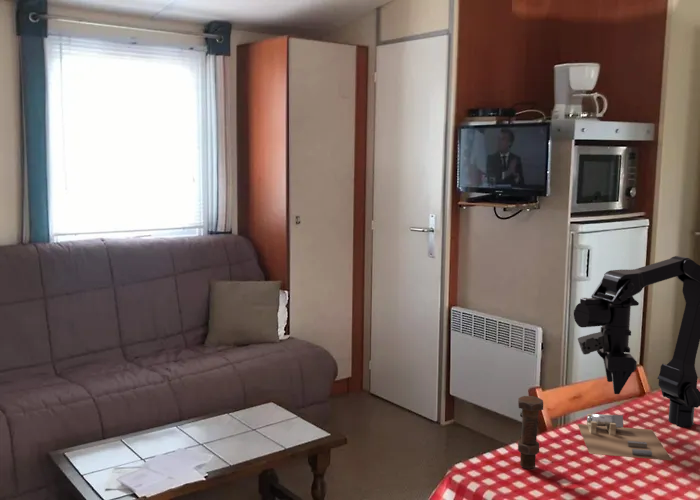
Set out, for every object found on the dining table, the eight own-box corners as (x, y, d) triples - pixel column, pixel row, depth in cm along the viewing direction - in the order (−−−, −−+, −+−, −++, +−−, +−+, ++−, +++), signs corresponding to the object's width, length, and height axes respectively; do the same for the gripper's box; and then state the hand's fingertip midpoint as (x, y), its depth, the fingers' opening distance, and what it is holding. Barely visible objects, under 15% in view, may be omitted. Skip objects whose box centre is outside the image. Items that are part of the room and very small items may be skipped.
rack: (586, 424, 174) (587, 413, 174) (610, 426, 173) (611, 415, 173) (590, 433, 168) (591, 422, 168) (615, 435, 167) (616, 424, 167)
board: (577, 427, 174) (577, 423, 174) (651, 432, 171) (651, 429, 171) (589, 456, 157) (589, 453, 157) (672, 463, 154) (672, 460, 154)
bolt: (540, 473, 148) (544, 405, 146) (515, 471, 149) (519, 403, 147) (538, 462, 154) (542, 396, 152) (515, 459, 155) (518, 394, 153)
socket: (627, 444, 162) (627, 440, 162) (645, 446, 161) (646, 442, 161) (632, 454, 156) (633, 450, 156) (651, 456, 156) (652, 452, 155)
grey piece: (620, 427, 171) (620, 416, 172) (623, 427, 168) (622, 415, 169) (586, 425, 172) (586, 413, 173) (588, 424, 170) (588, 412, 170)
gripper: (576, 314, 177) (573, 373, 179) (587, 332, 159) (583, 398, 161) (622, 316, 175) (619, 376, 177) (639, 334, 157) (634, 401, 159)
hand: (613, 387), depth 168 cm, fingers open, 9 cm apart
